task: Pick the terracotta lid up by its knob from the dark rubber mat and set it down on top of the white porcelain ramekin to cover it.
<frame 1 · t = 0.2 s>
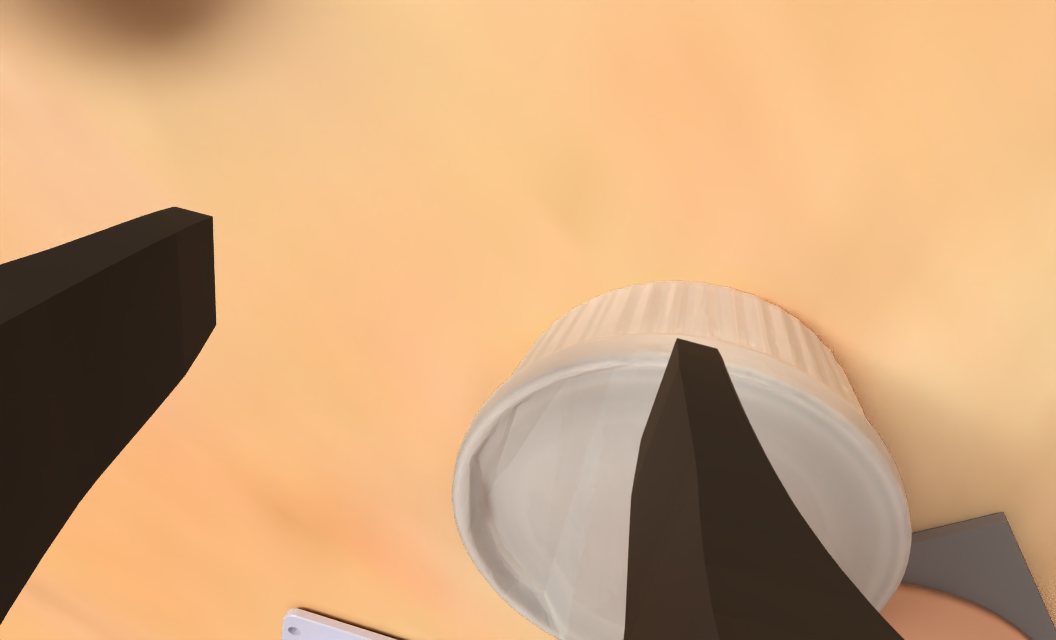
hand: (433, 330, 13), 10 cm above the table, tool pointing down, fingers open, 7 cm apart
ramekin: (678, 402, 26), on the table
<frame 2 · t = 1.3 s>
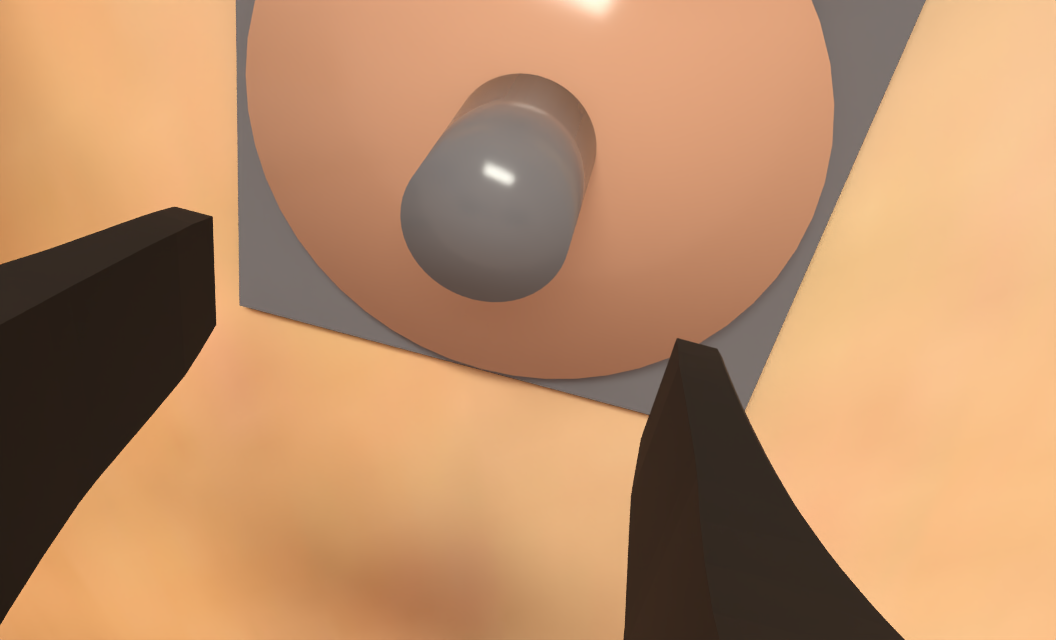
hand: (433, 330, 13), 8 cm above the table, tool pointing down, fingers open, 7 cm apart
lid: (529, 134, 20), resting on mat
mat: (532, 128, 20), on the table
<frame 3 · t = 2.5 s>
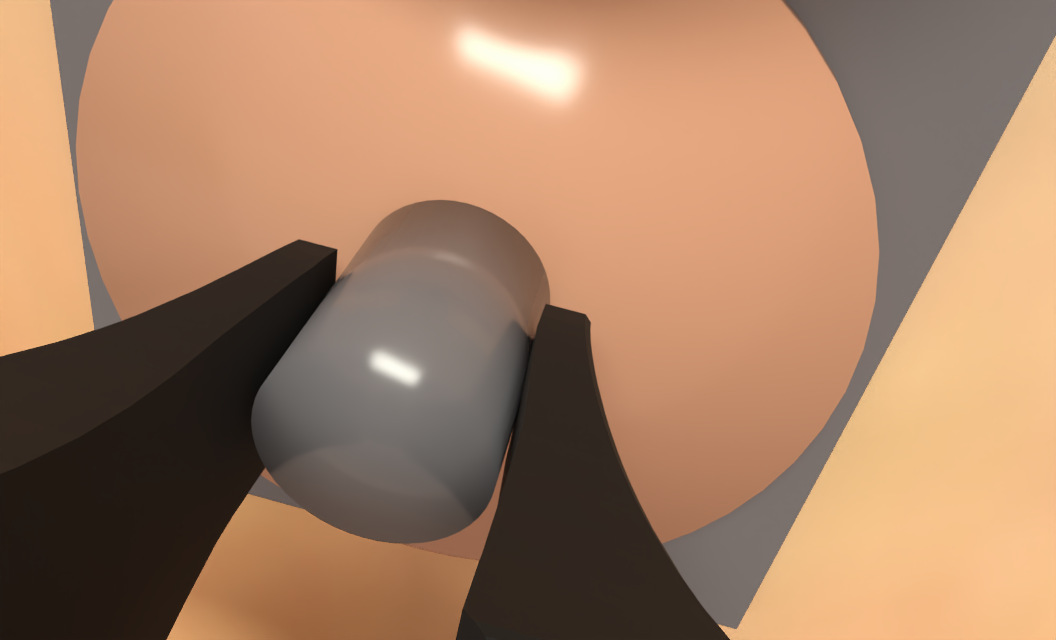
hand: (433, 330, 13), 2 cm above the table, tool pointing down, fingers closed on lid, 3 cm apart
lid: (462, 270, 15), resting on mat, touching gripper
mat: (468, 259, 15), on the table
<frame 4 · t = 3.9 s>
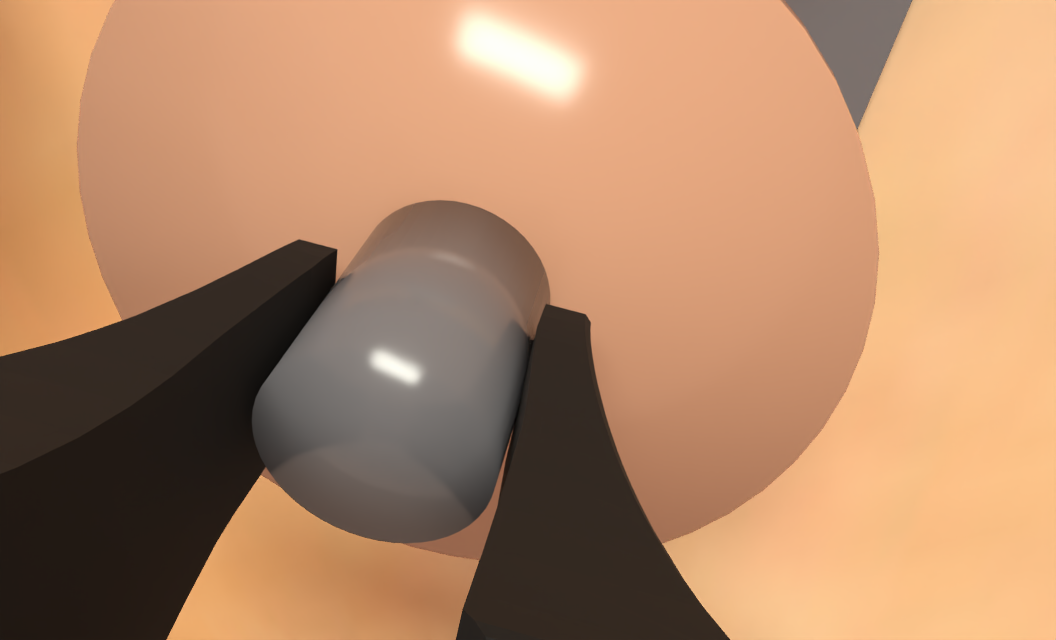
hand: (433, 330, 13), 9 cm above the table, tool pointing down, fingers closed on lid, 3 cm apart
lid: (462, 270, 15), point 8 cm above the table, touching gripper
mat: (539, 125, 21), on the table
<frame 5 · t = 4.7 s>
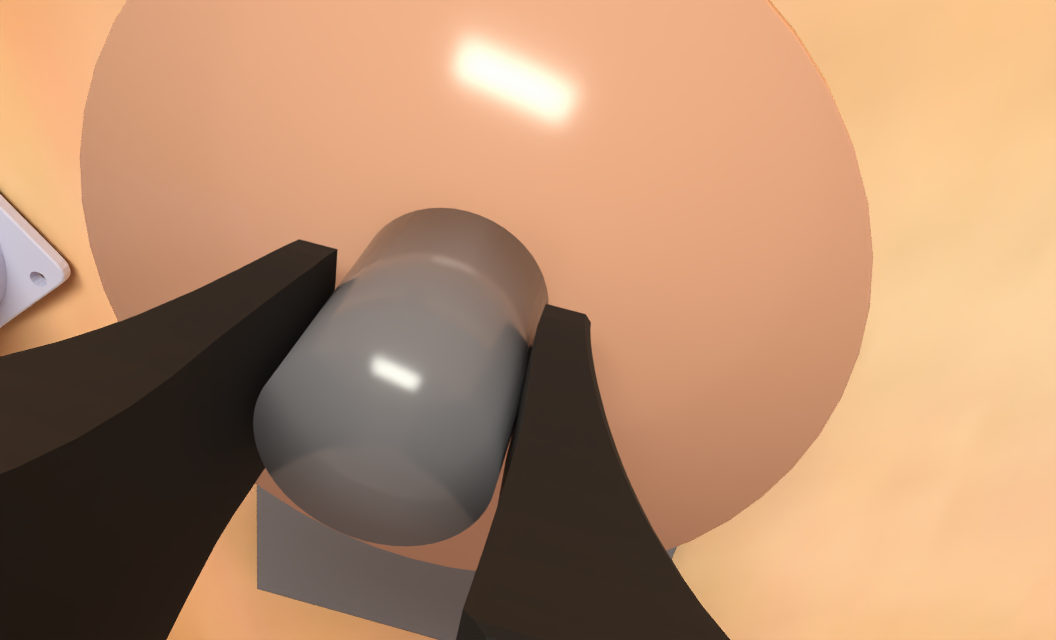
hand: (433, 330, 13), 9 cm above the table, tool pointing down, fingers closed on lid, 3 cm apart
lid: (461, 279, 15), point 8 cm above the table, touching gripper
mat: (462, 504, 29), on the table
when the fingers open (8 cm above the table, at t = 5.4 s): lid stays where it is, resting on ramekin.
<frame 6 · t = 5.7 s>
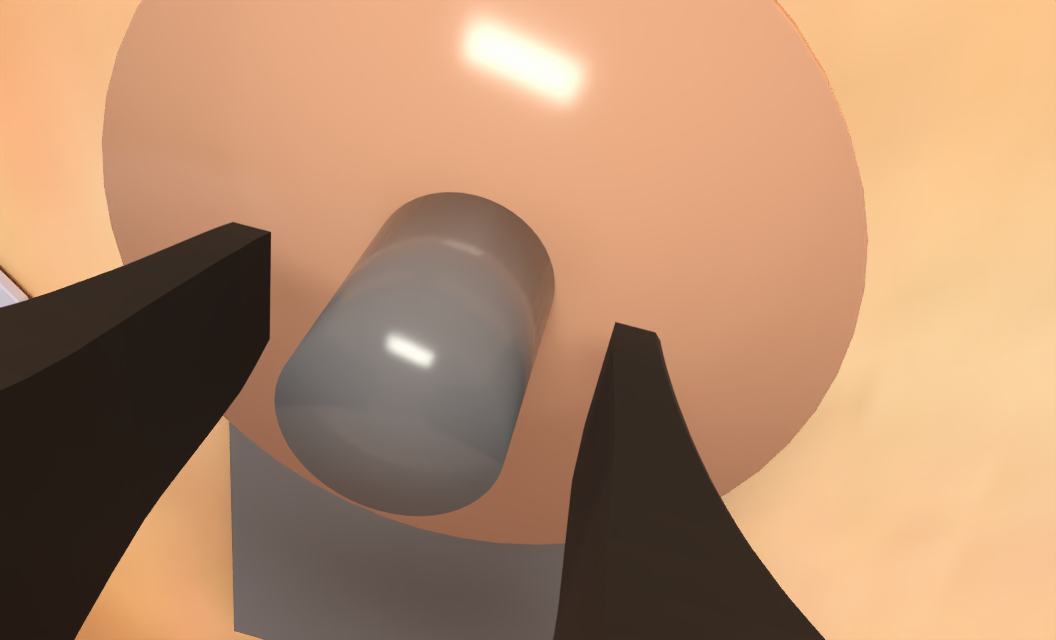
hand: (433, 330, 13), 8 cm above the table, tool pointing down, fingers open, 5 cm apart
lid: (470, 260, 15), point 5 cm above the table, touching ramekin
mat: (446, 549, 28), on the table
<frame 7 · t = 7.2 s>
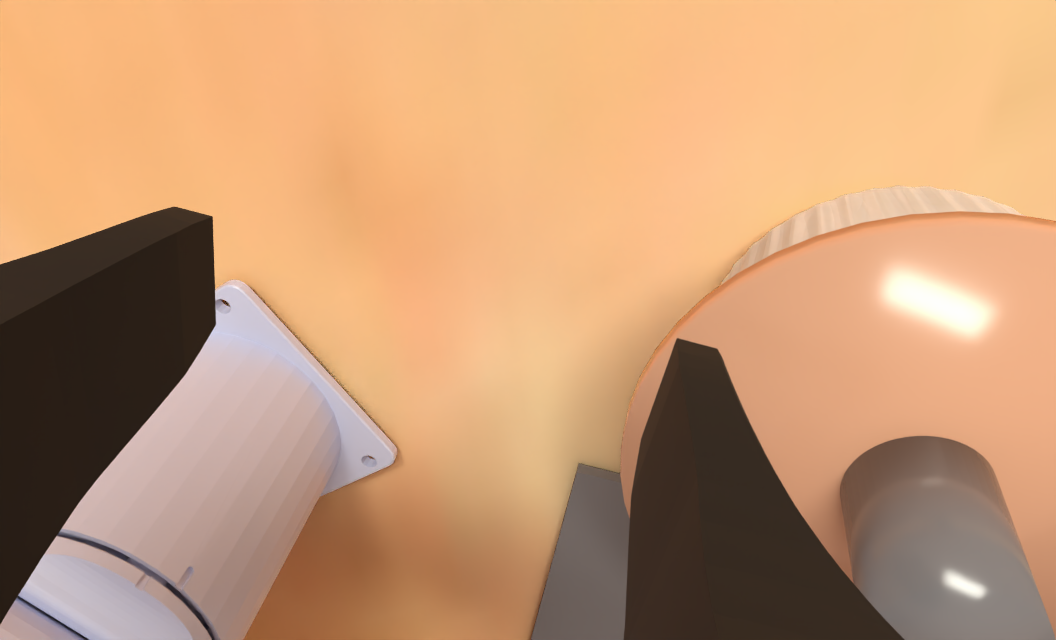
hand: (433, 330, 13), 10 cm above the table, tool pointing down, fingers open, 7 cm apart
ramekin: (880, 331, 24), on the table, touching lid
lid: (911, 472, 20), point 5 cm above the table, touching ramekin
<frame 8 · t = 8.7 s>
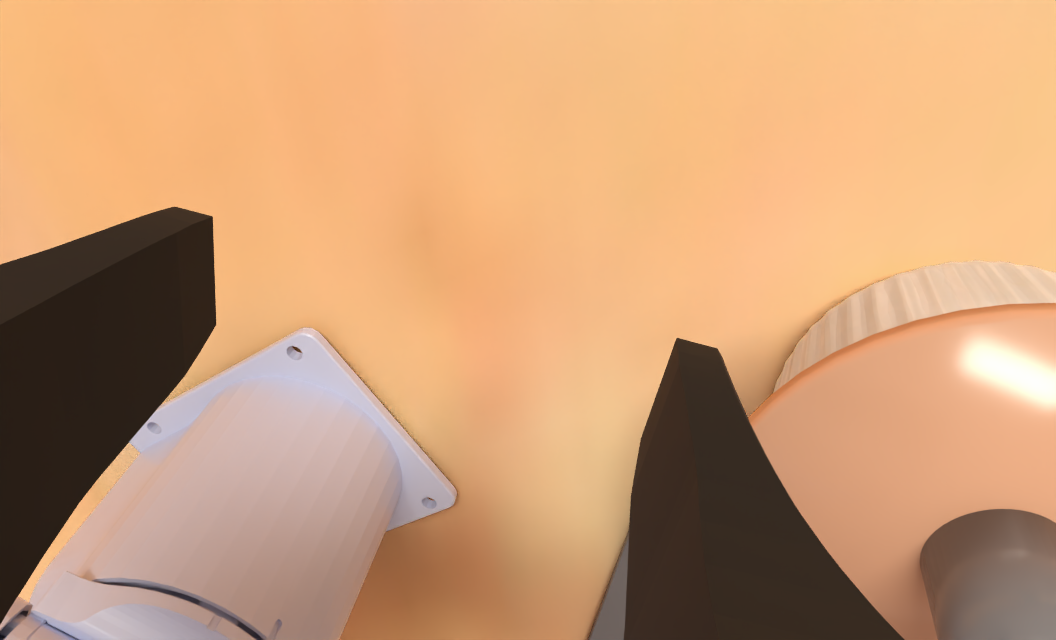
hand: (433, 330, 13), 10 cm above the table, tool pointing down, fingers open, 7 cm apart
ramekin: (945, 392, 25), on the table, touching lid
lid: (989, 540, 20), point 5 cm above the table, touching ramekin
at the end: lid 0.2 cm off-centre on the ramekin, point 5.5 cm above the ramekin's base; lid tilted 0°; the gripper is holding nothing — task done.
